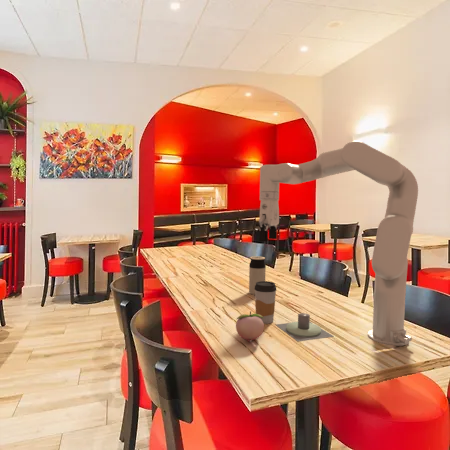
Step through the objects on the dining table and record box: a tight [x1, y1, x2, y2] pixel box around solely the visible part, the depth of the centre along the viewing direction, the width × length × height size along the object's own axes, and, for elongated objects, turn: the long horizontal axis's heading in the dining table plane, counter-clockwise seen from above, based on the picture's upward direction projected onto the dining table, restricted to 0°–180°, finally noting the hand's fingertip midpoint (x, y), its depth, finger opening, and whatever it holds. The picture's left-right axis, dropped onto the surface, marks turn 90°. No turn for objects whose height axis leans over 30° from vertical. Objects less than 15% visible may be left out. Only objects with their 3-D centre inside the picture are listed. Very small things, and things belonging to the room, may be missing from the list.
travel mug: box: [248, 255, 267, 296], centre depth 175 cm, size 8×8×18 cm
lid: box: [286, 312, 322, 337], centre depth 124 cm, size 12×12×6 cm
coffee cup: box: [254, 280, 277, 325], centre depth 133 cm, size 8×8×15 cm
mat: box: [275, 321, 335, 342], centre depth 125 cm, size 16×14×1 cm
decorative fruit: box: [235, 311, 265, 342], centre depth 115 cm, size 9×8×10 cm
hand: (268, 239), depth 139 cm, fingers open, 9 cm apart
